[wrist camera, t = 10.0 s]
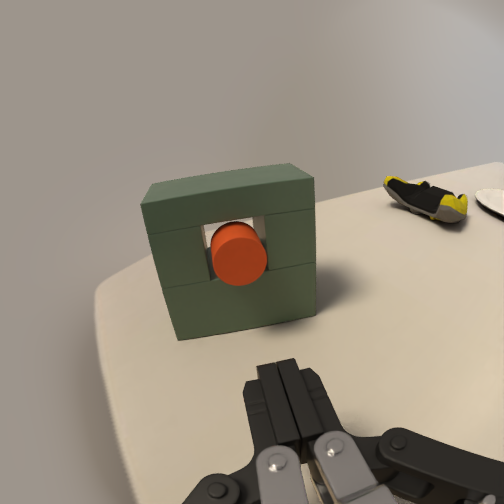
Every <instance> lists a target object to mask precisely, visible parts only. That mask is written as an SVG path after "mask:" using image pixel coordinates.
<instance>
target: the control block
mask: <svg viewBox="0 0 504 504" xmlns="http://www.w3.org/2000/svg"><path fill="white" fill-rule="evenodd" d="M140 205H141V209H142V213H143V218H144V222H145V226H146V231H147V234H148V239H149V243H150V247H151V251H152V255H153V258H154V262H155V266H156V270H157V273H158V277H159V280H160V284H161V287H162V291H163V294H164V298H165V301H166V305H167V308H168V311H169V314H170V318H171V321H172V324H173V327H174V330H175V333H176V336H177V339H178V340H185V339H191V338H198V337H204V336H211V335H217V334H223V333H229V332H234V331H240V330H245V329H251V328H256V327H261V326H267V325H272V324H277V323H282V322H286V321H291V320H296V319H301V318H305V317H310V316H314V315H316V226H315V191H314V177H312V176H310V175H309V174H307V173H306V172H304V171H302V170H300V169H299V168H297V167H295V166H294V165H292V164H290V163H287V164H279V165H270V166H261V167H253V168H246V169H238V170H231V171H225V172H218V173H211V174H205V175H200V176H193V177H187V178H181V179H176V180H171V181H165V182H160V183H155V184H152V185H151V187H150V188H149V190H148V192H147V193H146V195H145V197H144V199H143V200H142V202H141V204H140ZM250 217H253V227H254V230H255V231H256V233H257V235H258V237H259V239H260V241H261V243H262V245H263V247H264V249H265V251H266V255H267V264H266V268H265V270H264V272H263V273H262V275H261V276H260V277H259V278H258V279H257V280H255V281H254V282H252V283H250V284H247V285H241V286H235V285H230V284H227V283H225V282H223V281H222V280H221V279H220V278H219V277H218V276H217V275H216V273H215V271H214V268H213V262H212V254H211V247H208V248H207V242H206V236H205V231H204V225H205V224H212V223H217V222H224V221H231V220H237V219H243V218H250Z"/></svg>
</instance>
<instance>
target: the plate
mask: <svg viewBox="0 0 504 504" xmlns="http://www.w3.org/2000/svg"><path fill="white" fill-rule="evenodd" d="M475 197H476V199H477V201H478V202H480V203H481V204H482V205H483V206H485V207H486V208H488V209H490V210H491V211H493V212H495V213H497V214H498V215H500V216H502V217H504V190H500V189H482V190H479V191H477V192H476V194H475Z"/></svg>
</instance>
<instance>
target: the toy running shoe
mask: <svg viewBox="0 0 504 504" xmlns="http://www.w3.org/2000/svg"><path fill="white" fill-rule="evenodd" d="M383 187H384V188H385V189H386V191H387V192H388V194H389V195H390V196H391V197H392V198H393V199H394V200H396V201H397V202H398V203H400V204H402V205H404V206H407V207H409V208H410V210H411V212H413V213H415V214H427V215H429V216H430V219H432V220H435V219H437V220H441V221H443V222H451V223H458V222H459V220H462V219H465V217H466V214H467V203H468V201H467V195H465V194H461V195H459V196H458V198H456V197H455V196H454V194H453V193H452V192H450V191H447V190H444V189H441V188H438V187H435V186H432V187H430V183H429V182H426V181H423V182H419V183H418V184H410V183H407V182H406V181H404V180H402V179H400V178H398V177H393V176H388V177H386V179H385V181H384V184H383Z"/></svg>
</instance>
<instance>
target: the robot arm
mask: <svg viewBox="0 0 504 504" xmlns="http://www.w3.org/2000/svg"><path fill="white" fill-rule="evenodd" d="M256 367H257V375H258V379H257V380H252V381H246V383H245V387H244V390H243V397H244V402H245V407H246V411H247V416H248V421H249V426H250V430H251V435H252V440H253V444H254V456H253V458H252V460H251V461H250V463H249V464H248V465H247V466H245V467H244V468H242V469H240V470H238V471H236V472H234V473H232V474H230V475H225V474H219V473H217V474H211V475H208V476H206V477H204V478H203V479H202V480H201V481H200V482H199V483H198V484H197V486H196V487H195V488H194V489H193V491H192V492H191V493H190V494H189V496H188V497H187V498H186V499H185V501H184V502H183V503H182V504H309V503H308V499H307V494H306V490H305V485H304V481H303V476H302V471H301V466H300V464H305V463H308V466H309V469H310V472H311V473H310V479H311V482H312V484H313V486H314V489H315V491H316V493H317V495H318V498H319V500H320V502H321V504H398V503H397V502H396V500H395V498H394V496H393V495H395V496H398V497H400V498H403V499H405V500H408V501H411V502H413V503H416V504H504V462H501V461H497V460H494V459H490V458H487V457H484V456H481V455H477V454H474V453H471V452H468V451H465V450H462V449H459V448H456V447H453V446H450V445H447V444H444V443H442V442H439V441H436V440H433V439H431V438H428V437H425V436H423V435H420V434H418V433H415V432H413V431H410V430H407V429H405V428H392V429H389V430H387V431H386V432H385V433H383V435H382V436H377V437H356V436H353V435H351V434H349V433H348V432H346V431H345V430H344V429H343V427H342V426H341V424H340V421H339V419H338V417H337V415H336V412H335V410H334V408H333V406H332V403H331V401H330V399H329V397H328V395H327V392H326V390H325V388H324V386H323V384H322V381H321V379H320V377H319V375H318V374H316V373H315V372H314V371H313V370H312V369H311V368H307V369H302V370H299V368H298V365H297V363H296V360H295V359H294V358H292V359H287V360H283V361H278V362H276V364H275V362H274V363H269V364H264V365H259V366H256ZM299 461H300V462H299ZM392 494H393V495H392Z"/></svg>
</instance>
